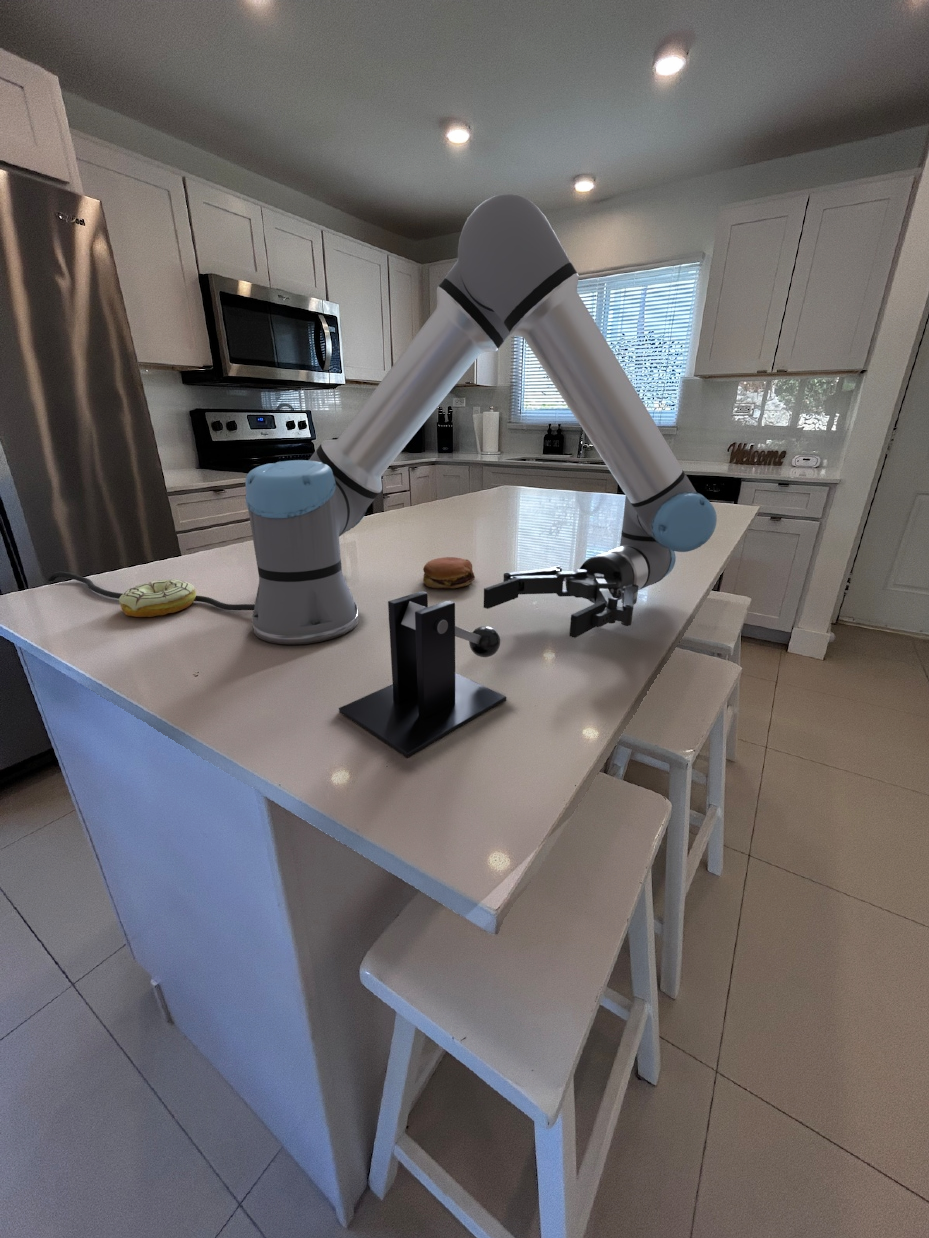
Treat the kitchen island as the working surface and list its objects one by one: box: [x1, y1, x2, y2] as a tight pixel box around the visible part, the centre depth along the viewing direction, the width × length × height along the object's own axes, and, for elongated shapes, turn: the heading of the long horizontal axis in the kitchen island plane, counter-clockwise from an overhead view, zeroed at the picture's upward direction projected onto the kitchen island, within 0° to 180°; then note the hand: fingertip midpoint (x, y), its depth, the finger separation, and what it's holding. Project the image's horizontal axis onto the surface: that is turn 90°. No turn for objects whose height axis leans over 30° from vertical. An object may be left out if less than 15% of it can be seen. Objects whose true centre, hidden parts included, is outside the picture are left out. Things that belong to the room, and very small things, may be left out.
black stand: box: [338, 590, 507, 759], centre depth 52 cm, size 14×11×13 cm
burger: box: [422, 556, 476, 589], centre depth 96 cm, size 10×9×5 cm
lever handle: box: [401, 602, 501, 658], centre depth 55 cm, size 14×4×4 cm, turn 136°
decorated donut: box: [118, 578, 197, 618], centre depth 83 cm, size 10×11×4 cm
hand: (526, 611), depth 63 cm, fingers open, 13 cm apart
